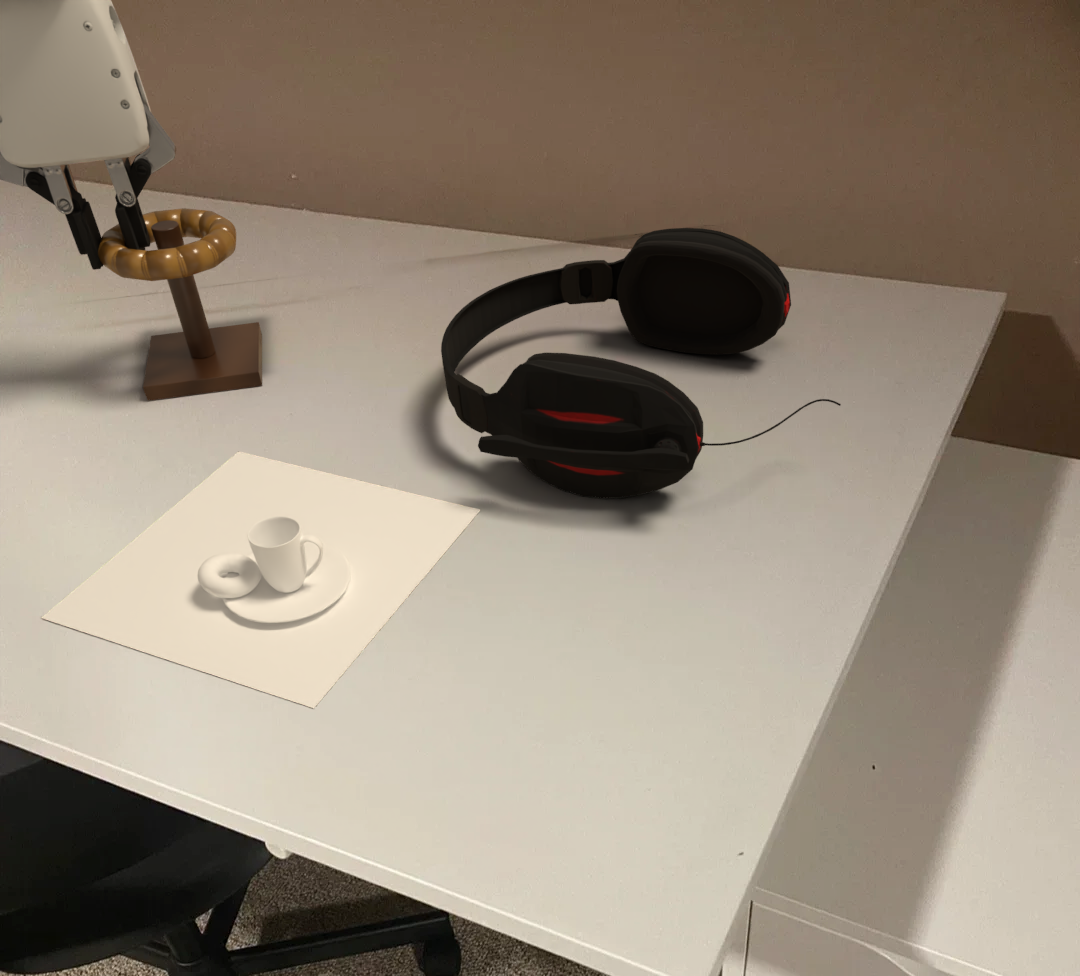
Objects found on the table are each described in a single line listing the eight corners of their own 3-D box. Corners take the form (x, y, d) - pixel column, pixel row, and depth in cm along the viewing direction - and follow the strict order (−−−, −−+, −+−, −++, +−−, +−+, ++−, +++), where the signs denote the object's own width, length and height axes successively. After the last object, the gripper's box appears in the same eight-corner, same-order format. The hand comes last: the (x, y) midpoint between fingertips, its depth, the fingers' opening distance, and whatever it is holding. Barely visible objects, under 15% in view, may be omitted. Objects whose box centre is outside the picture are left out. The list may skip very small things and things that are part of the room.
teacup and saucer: (186, 606, 62) (165, 552, 59) (262, 533, 67) (247, 480, 64) (305, 642, 59) (290, 588, 56) (376, 564, 64) (365, 510, 61)
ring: (97, 291, 73) (87, 263, 71) (111, 239, 79) (102, 212, 78) (238, 275, 74) (230, 247, 72) (240, 225, 80) (233, 199, 79)
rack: (147, 401, 80) (95, 256, 71) (155, 349, 86) (108, 210, 78) (262, 385, 80) (224, 241, 72) (262, 335, 87) (227, 196, 78)
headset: (847, 515, 65) (875, 390, 59) (442, 537, 65) (426, 415, 59) (765, 319, 85) (779, 210, 78) (453, 337, 85) (441, 228, 78)
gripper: (152, -65, 66) (228, 228, 79) (-103, -41, 64) (18, 253, 78) (143, -43, 61) (226, 266, 74) (-135, -17, 59) (1, 294, 73)
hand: (119, 257), depth 76 cm, fingers closed on ring, 2 cm apart
